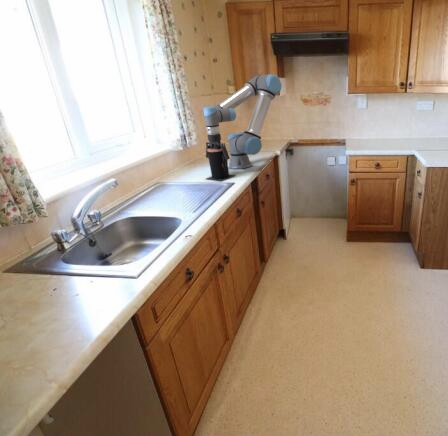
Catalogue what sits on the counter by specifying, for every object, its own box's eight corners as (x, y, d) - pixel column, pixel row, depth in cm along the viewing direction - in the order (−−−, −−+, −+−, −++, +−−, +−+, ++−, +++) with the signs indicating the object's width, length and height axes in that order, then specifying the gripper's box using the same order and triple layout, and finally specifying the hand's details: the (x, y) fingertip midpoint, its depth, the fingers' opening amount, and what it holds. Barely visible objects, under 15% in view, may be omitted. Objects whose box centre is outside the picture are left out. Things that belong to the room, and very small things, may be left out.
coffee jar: (226, 179, 199) (222, 150, 192) (209, 179, 200) (204, 150, 192) (231, 174, 209) (227, 146, 202) (214, 174, 210) (210, 147, 202)
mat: (220, 173, 213) (220, 173, 213) (235, 175, 207) (235, 175, 206) (205, 179, 203) (205, 178, 202) (221, 181, 196) (220, 181, 196)
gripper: (195, 134, 196) (202, 169, 205) (223, 135, 185) (228, 173, 194) (204, 132, 202) (210, 166, 211) (232, 133, 191) (237, 169, 200)
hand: (219, 169), depth 202 cm, fingers closed on coffee jar, 10 cm apart
